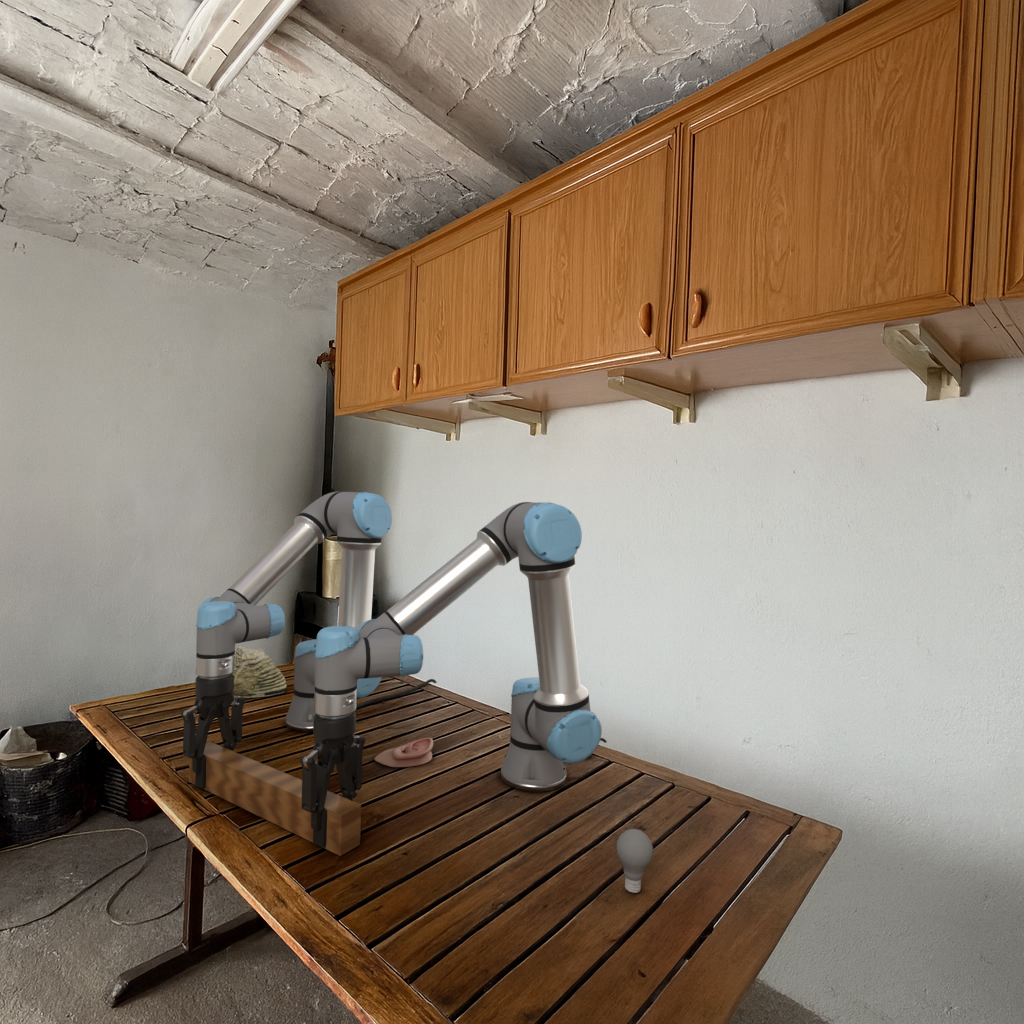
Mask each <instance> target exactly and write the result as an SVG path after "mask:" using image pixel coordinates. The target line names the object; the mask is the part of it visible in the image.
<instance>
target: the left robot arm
mask: <svg viewBox="0 0 1024 1024" xmlns="http://www.w3.org/2000/svg"><path fill="white" fill-rule="evenodd" d="M392 524H393V515H392V510H391V507H390V505H389V503H388V502H387V501H386V499H385V498H384V497H383V496H381V495H380V494H377V493H373V492H367V491H362V492H360V491H359V492H358V491H342V490H341V491H339V490H338V491H337V490H336V491H332V492H329V493H326V494H323V495H322V496H321V497H318V498H317V499H316V500H314V501H313V502H311V503H310V504H309V505H307V506H306V507H305V508H304V509H302V511H301V512H300V513H299V514H298V515H296V516H295V518H294V520H293V525H292V526H291V527H290V528H289V529H288V530H287V531H286V532H285V533H284V534H283V535H281V536H280V537H279V538H278V539H277V540H276V541H275V543H273V545H272V546H270V547H269V548H268V549H267V550H266V551H265V552H264V553H263V554H262V555H261V556H260V557H259V558H258V559H257V560H256V561H255V562H254V563H253V564H252V565H251V566H250V567H249V568H248V569H246V571H244V573H243V574H242V575H240V577H239V578H237V579H236V580H235V581H234V583H232V585H230V587H228V588H227V589H226V590H225V591H224V592H223V593H222V594H221V595H220V596H213V597H209V598H207V599H205V600H204V601H203V602H202V603H201V604H200V605H199V606H198V609H197V615H196V623H195V627H196V641H195V642H196V644H195V645H196V647H195V648H196V651H195V652H196V654H195V675H196V677H195V684H194V685H195V686H194V687H195V688H194V693H195V701H194V703H193V706H191V707H190V708H189V709H183V710H181V712H180V716H181V718H182V720H183V733H182V734H183V736H182V742H183V743H182V756H184V757H187V758H191V759H192V771H193V772H194V773H195V785H194V786H196V787H197V788H200V789H202V790H204V789H203V788H206V759H207V757H205V756H203V754H204V749H205V745H206V743H207V740H208V737H209V733H210V730H211V729H210V728H211V726H212V725H213V723H214V720H215V719H217V723H218V727H219V732H220V736H221V741H222V744H223V745H220V746H221V747H224V748H226V749H229V750H231V751H233V752H234V749H236V748H237V743H241V742H242V740H243V718H244V717H243V714H244V713H243V712H244V711H243V710H244V706H245V703H246V698H244V697H241V696H238V695H236V696H234V695H233V692H232V691H233V690H234V675H233V674H232V673H233V672H234V655H235V650H236V645H237V644H241V643H247V642H251V641H252V642H253V641H258V640H262V639H266V640H267V639H269V638H272V637H275V636H278V635H280V634H281V633H282V632H283V631H284V628H285V627H286V626H285V625H286V616H285V612H284V610H283V609H282V607H281V606H280V605H279V604H276V603H271V604H270V603H269V604H267V603H264V604H262V605H261V604H260V605H258V604H259V602H261V600H262V599H263V598H264V597H265V596H266V595H267V594H268V593H269V592H270V591H271V590H273V588H274V587H275V586H276V585H277V584H278V583H279V582H280V581H281V580H282V579H283V578H284V577H285V576H286V575H287V573H289V571H291V570H292V569H293V568H294V566H295V565H296V564H297V563H298V562H299V561H300V560H301V559H302V558H303V557H304V556H305V555H306V554H308V552H309V551H310V550H311V549H312V548H313V547H314V546H315V545H316V544H317V545H319V544H322V543H323V542H324V541H325V540H327V538H328V537H330V536H332V535H336V543H337V544H338V546H340V548H341V561H340V562H341V564H340V581H339V599H338V614H337V615H338V617H337V626H350V627H354V628H356V629H357V630H358V629H359V627H360V626H361V625H362V624H363V623H364V622H365V621H368V620H371V619H372V613H373V612H372V611H373V610H372V609H373V597H374V595H373V593H374V577H375V560H376V550H377V549H378V548H379V547H380V546H381V545H382V538H383V537H385V536H386V535H387V534H388V533H389V530H390V529H391V527H392ZM316 642H317V638H315V639H308V640H304V641H301V642H299V643H298V644H297V645H296V646H295V652H294V656H293V659H294V661H293V662H294V668H293V669H294V670H293V695H292V696H293V697H292V699H291V702H290V704H289V708H288V711H287V713H286V715H285V726H286V728H287V729H289V730H291V731H294V732H295V731H296V732H301V733H313V721H314V715H315V714H316V713H315V712H314V690H315V652H316ZM382 678H383V677H379V678H365V679H358V680H357V698H356V699H365V698H367V697H368V696H369V695H371V694H372V693H374V692H375V690H376V688H378V687H379V685H380V684H381V681H382ZM430 683H433V684H437V683H438V682H437V681H436V679H434V678H430V679H428V680H426V681H424V682H422V683H419V684H417V685H416V686H413V687H411V688H409V689H408V688H407V689H406V690H402V691H399V692H396V693H391V694H386V695H383V696H379V697H373V698H371V699H367V700H366V701H364V702H361V703H358V704H356V709H359V708H362V707H364V706H367V705H369V704H371V703H374V702H379V701H383V700H388V699H390V698H391V699H392V698H395V697H399V696H402V695H405V694H409V693H411V692H414V691H416V690H418V689H420V688H422V687H425V686H426V685H428V684H430ZM229 709H230V710H229ZM197 713H198V715H197ZM197 716H198V718H197ZM196 718H197V723H196ZM196 727H197V728H196Z"/></svg>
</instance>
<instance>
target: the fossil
mask: <svg viewBox="0 0 1024 1024" xmlns="http://www.w3.org/2000/svg"><path fill="white" fill-rule="evenodd" d="M232 674H233V675H234V690H233V691H232V692H233V695H234V696H236V695H238V696H241V697H244V698H245V699H250V698H264V697H271V696H275V695H281V694H284V693H285V691H286V689H287V687H288V686H287V680H286V678H285V676H284V674H283V673H282V672H281V669H279V668H278V667H277V665H276V663H275V662H274V660H273V659H272V658H271V657H270V656H269V655H268V654H267V653H266V652H265V650H264V649H263V648H260V647H258V648H251V647H247V646H246V647H245V646H238V647H237V648H235V655H234V672H233V673H232Z"/></svg>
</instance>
